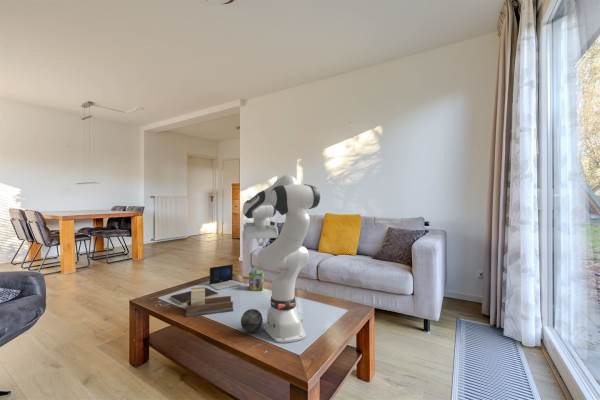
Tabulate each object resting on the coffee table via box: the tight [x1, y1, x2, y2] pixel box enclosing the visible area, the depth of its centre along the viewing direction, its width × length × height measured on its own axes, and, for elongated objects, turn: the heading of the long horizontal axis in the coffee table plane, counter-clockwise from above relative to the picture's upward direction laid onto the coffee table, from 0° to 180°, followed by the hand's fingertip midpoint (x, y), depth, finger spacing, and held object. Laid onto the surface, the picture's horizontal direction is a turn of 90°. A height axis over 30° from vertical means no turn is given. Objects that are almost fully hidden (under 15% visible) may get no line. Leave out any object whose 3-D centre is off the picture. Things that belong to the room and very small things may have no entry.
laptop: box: [208, 263, 241, 291], centre depth 193 cm, size 18×12×13 cm
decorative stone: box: [240, 308, 264, 333], centre depth 126 cm, size 10×10×10 cm
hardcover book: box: [170, 287, 219, 306], centre depth 169 cm, size 16×23×2 cm
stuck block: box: [190, 286, 206, 306], centre depth 149 cm, size 7×7×10 cm
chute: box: [185, 295, 234, 318], centre depth 151 cm, size 16×24×4 cm, turn 111°
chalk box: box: [248, 266, 265, 291], centre depth 187 cm, size 9×9×15 cm
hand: (260, 245), depth 160 cm, fingers closed
